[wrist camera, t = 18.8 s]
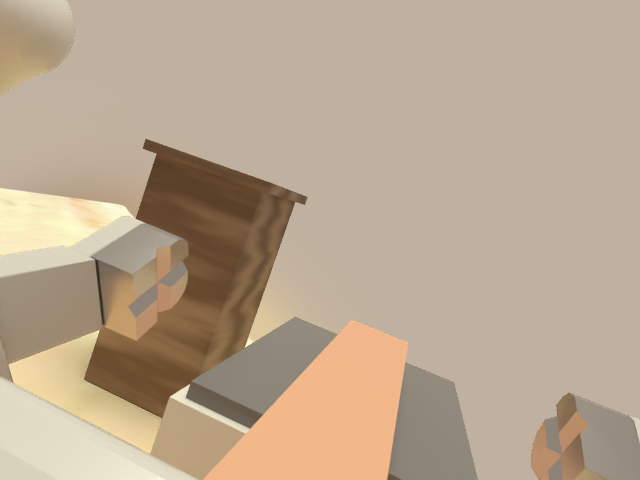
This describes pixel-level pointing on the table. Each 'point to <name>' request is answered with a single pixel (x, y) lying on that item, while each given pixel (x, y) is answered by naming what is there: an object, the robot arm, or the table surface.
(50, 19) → the robot arm
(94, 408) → the table surface
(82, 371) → the table surface
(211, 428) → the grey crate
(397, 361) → the terracotta block
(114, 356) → the walnut stand
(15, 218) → the table surface
